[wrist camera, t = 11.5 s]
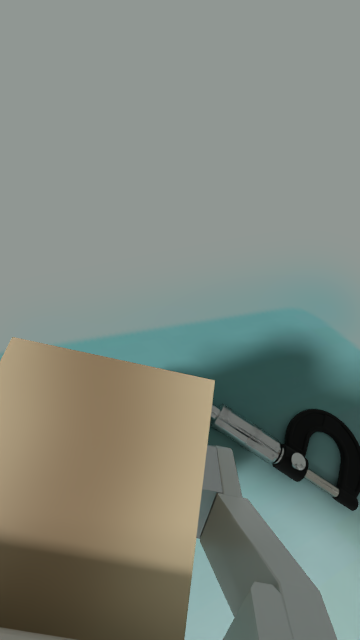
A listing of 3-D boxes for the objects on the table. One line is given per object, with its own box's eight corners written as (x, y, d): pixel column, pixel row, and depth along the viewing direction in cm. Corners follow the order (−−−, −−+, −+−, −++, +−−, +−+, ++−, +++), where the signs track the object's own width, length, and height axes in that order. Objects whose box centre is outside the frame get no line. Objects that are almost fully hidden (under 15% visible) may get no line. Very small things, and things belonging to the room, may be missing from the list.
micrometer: (365, 437, 24) (388, 436, 22) (346, 518, 21) (371, 527, 19) (226, 351, 26) (234, 343, 24) (191, 415, 23) (197, 412, 21)
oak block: (173, 413, 13) (214, 380, 6) (153, 523, 11) (179, 679, 4) (83, 395, 13) (12, 337, 6) (47, 504, 11) (-136, 630, 4)
